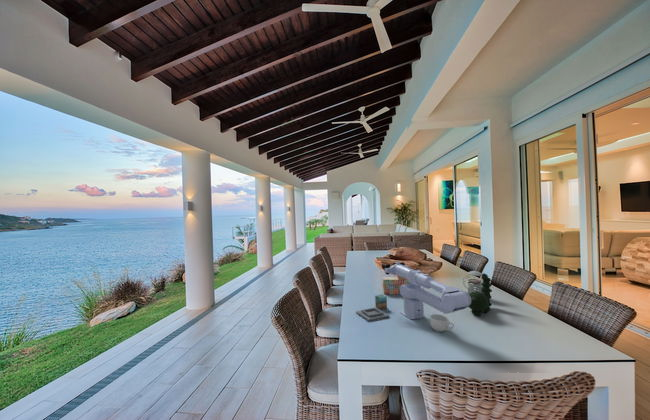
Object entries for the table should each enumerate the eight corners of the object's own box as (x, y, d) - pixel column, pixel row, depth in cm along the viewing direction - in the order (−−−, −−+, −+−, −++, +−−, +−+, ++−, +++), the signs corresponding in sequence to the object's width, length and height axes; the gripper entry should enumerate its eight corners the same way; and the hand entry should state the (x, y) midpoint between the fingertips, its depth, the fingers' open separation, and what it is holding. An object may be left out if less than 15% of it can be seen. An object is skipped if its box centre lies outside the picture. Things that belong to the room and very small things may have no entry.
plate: (389, 317, 138) (389, 313, 138) (368, 321, 133) (368, 317, 133) (375, 309, 149) (375, 305, 149) (356, 313, 144) (356, 309, 144)
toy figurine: (477, 306, 154) (461, 315, 136) (477, 271, 155) (461, 275, 137) (497, 310, 147) (483, 321, 129) (497, 273, 148) (483, 278, 130)
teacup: (427, 330, 123) (426, 317, 123) (434, 324, 128) (433, 312, 128) (450, 336, 116) (450, 323, 116) (456, 330, 121) (456, 318, 121)
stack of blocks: (384, 294, 175) (383, 274, 175) (382, 291, 181) (382, 272, 181) (419, 294, 173) (418, 274, 173) (416, 291, 179) (416, 272, 179)
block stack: (386, 308, 150) (386, 296, 150) (380, 309, 148) (379, 297, 148) (382, 305, 154) (382, 294, 154) (375, 307, 152) (375, 295, 152)
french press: (488, 299, 160) (487, 256, 160) (468, 299, 161) (467, 256, 161) (479, 294, 170) (478, 253, 170) (460, 294, 171) (459, 253, 170)
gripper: (414, 262, 148) (398, 257, 161) (391, 265, 142) (377, 259, 155) (414, 275, 149) (398, 269, 161) (391, 279, 143) (377, 272, 155)
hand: (387, 265), depth 158 cm, fingers open, 7 cm apart
